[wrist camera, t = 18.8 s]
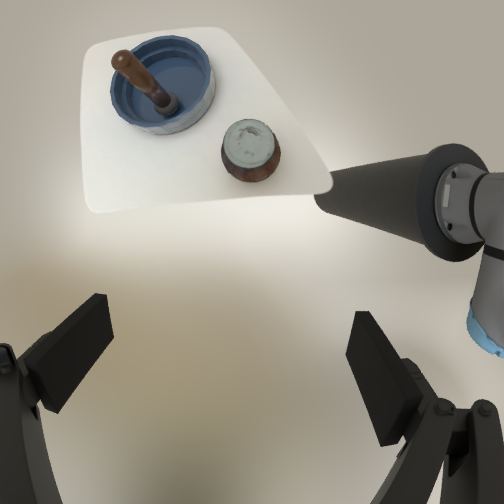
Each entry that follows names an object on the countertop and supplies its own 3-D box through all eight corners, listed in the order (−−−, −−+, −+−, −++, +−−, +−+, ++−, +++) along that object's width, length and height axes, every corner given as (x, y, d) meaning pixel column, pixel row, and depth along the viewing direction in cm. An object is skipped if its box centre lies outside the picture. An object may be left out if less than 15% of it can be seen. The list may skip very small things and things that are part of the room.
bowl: (219, 50, 37) (215, 32, 31) (211, 134, 40) (205, 125, 34) (133, 57, 36) (119, 42, 31) (121, 137, 39) (104, 130, 33)
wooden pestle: (156, 99, 37) (100, 48, 19) (179, 93, 37) (136, 34, 19) (159, 120, 38) (101, 78, 20) (182, 114, 38) (137, 65, 20)
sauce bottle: (254, 132, 40) (259, 84, 20) (282, 164, 41) (312, 142, 21) (219, 160, 40) (194, 136, 21) (247, 193, 41) (247, 195, 22)
